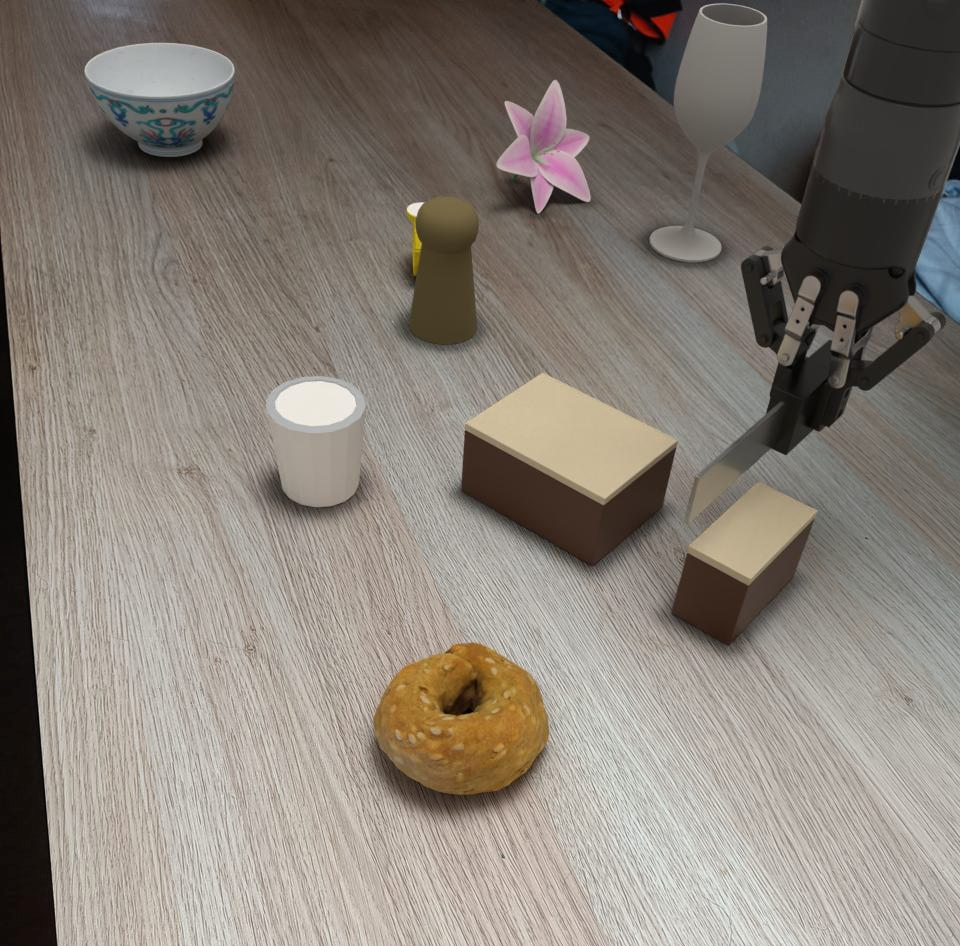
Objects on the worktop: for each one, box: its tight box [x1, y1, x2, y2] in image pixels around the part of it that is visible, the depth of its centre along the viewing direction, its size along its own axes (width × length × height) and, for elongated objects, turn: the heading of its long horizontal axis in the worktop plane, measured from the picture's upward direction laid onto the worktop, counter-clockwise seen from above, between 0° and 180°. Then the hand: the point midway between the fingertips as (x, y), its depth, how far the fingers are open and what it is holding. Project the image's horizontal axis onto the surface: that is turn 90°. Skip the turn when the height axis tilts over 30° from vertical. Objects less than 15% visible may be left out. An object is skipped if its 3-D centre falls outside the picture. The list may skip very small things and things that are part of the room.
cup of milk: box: [265, 375, 367, 508], centre depth 78 cm, size 7×7×7 cm
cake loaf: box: [460, 372, 679, 566], centre depth 79 cm, size 9×12×6 cm
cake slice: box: [671, 481, 818, 646], centre depth 73 cm, size 9×4×6 cm, turn 141°
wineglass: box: [648, 3, 768, 263], centre depth 103 cm, size 8×8×21 cm
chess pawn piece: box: [408, 196, 480, 345], centre depth 93 cm, size 6×6×11 cm
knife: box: [683, 339, 832, 525], centre depth 71 cm, size 19×2×4 cm, turn 141°
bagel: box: [372, 641, 550, 796], centre depth 64 cm, size 10×11×5 cm
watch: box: [406, 201, 424, 278], centre depth 101 cm, size 6×3×6 cm, turn 4°
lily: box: [496, 79, 592, 214], centre depth 114 cm, size 12×12×10 cm
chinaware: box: [84, 42, 236, 158], centre depth 116 cm, size 15×15×8 cm
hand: (801, 415), depth 76 cm, fingers closed on knife, 2 cm apart
